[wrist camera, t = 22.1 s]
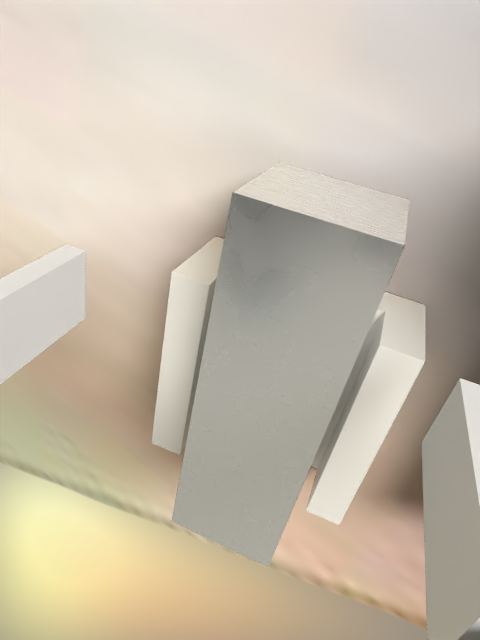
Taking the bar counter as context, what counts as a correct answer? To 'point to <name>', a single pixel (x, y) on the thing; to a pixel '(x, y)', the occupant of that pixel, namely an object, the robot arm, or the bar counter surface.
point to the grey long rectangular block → (281, 346)
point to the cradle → (355, 401)
